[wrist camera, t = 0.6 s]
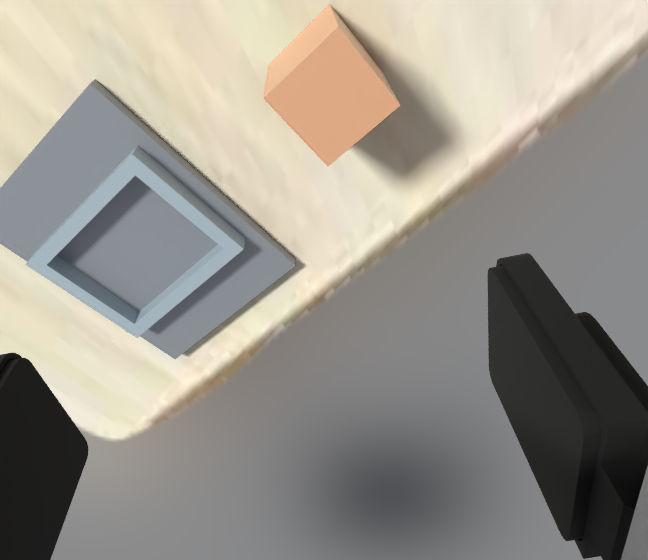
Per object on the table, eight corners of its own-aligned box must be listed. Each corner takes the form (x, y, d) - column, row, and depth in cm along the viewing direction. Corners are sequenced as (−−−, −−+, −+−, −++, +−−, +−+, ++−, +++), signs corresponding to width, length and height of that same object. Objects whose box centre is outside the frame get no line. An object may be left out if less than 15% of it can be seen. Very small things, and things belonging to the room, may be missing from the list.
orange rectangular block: (329, 4, 31) (338, 26, 25) (381, 71, 33) (400, 105, 27) (268, 64, 32) (263, 98, 27) (322, 124, 35) (327, 166, 29)
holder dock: (94, 79, 32) (81, 90, 30) (295, 258, 41) (295, 277, 38) (-23, 216, 37) (-42, 234, 35) (177, 351, 45) (171, 372, 43)
